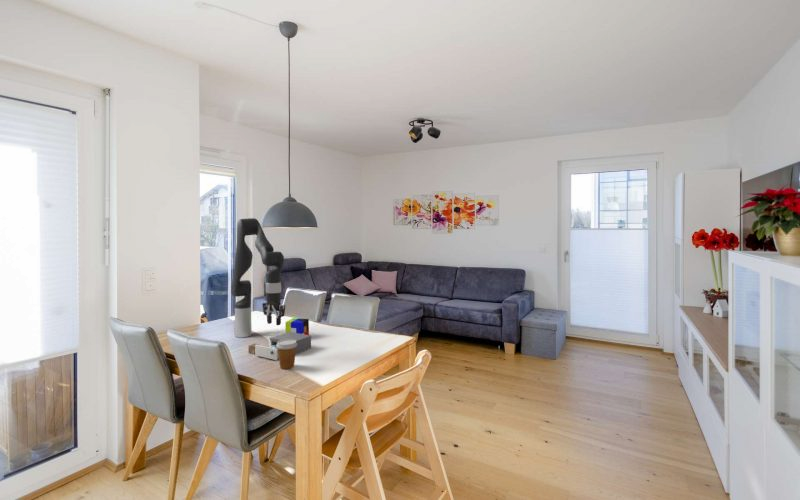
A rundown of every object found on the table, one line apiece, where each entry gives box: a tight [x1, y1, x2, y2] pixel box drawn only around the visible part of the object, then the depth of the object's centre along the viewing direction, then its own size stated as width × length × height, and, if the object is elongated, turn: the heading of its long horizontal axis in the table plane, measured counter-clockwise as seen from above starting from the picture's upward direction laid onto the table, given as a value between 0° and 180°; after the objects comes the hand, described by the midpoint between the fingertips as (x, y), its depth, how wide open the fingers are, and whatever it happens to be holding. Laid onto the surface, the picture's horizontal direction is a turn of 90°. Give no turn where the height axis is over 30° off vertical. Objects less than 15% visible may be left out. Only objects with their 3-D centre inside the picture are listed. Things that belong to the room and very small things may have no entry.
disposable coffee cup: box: [276, 339, 297, 370], centre depth 187 cm, size 10×10×12 cm
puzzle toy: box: [285, 317, 310, 335], centre depth 237 cm, size 10×10×10 cm
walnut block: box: [247, 343, 260, 355], centre depth 208 cm, size 4×4×4 cm
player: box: [269, 332, 312, 356], centre depth 213 cm, size 16×14×7 cm
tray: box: [254, 344, 279, 361], centre depth 203 cm, size 15×14×5 cm
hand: (274, 324), depth 202 cm, fingers open, 5 cm apart
